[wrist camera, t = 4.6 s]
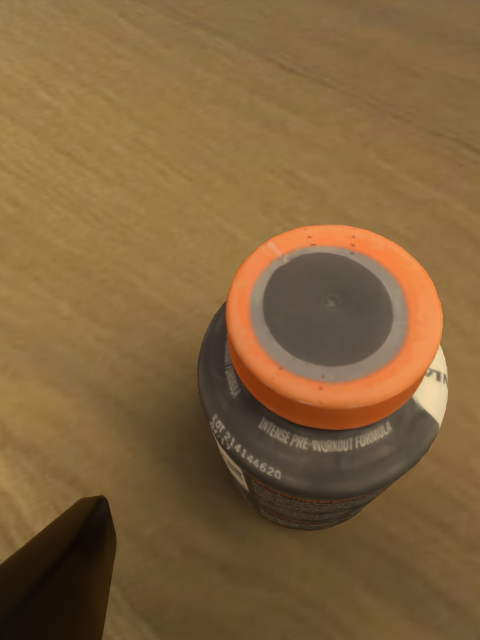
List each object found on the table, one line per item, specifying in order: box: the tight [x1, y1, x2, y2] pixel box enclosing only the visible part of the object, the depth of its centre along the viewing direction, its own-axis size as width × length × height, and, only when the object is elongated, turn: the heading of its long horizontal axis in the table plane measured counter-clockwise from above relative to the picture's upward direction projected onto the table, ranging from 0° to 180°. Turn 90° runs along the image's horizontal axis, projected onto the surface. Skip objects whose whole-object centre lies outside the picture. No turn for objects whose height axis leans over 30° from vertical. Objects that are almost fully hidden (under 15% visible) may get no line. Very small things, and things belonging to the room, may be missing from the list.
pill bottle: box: [197, 225, 448, 531], centre depth 13 cm, size 6×6×11 cm
